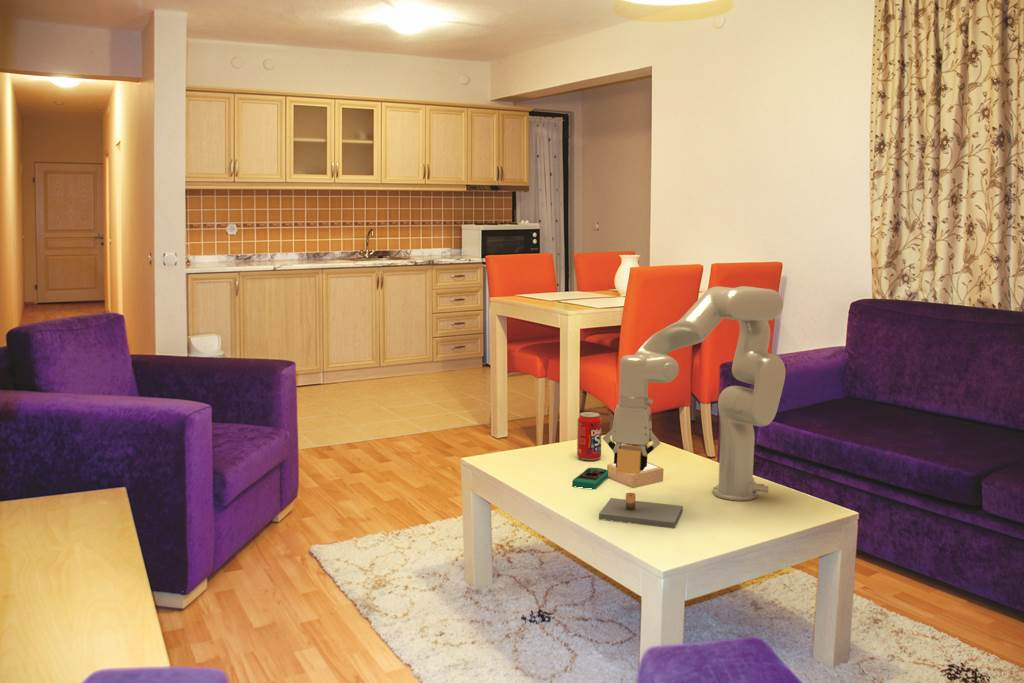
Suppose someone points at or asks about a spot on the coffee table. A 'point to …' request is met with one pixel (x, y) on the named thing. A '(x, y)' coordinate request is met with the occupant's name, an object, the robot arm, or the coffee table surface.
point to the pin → (630, 501)
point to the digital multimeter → (590, 478)
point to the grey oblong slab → (642, 513)
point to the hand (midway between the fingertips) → (630, 467)
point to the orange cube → (629, 459)
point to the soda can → (589, 436)
